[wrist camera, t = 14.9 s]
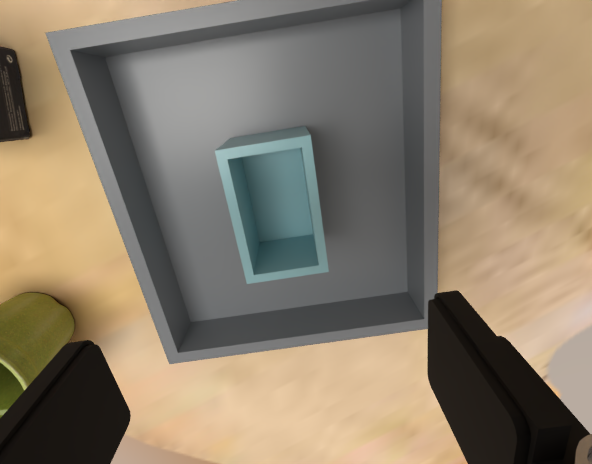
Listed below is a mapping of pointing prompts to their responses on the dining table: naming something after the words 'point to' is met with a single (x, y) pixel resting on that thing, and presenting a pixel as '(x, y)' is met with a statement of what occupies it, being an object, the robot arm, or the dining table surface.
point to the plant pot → (29, 341)
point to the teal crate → (274, 203)
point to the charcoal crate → (258, 119)
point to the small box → (11, 99)
